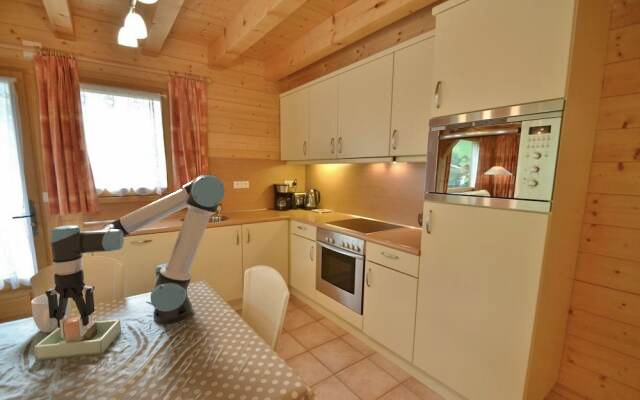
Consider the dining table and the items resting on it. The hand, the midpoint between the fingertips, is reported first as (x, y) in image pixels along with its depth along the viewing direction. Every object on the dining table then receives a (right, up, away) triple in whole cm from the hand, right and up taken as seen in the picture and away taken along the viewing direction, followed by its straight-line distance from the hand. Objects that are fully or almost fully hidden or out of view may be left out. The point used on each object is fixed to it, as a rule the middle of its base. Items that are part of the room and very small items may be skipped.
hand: (74, 334), depth 99 cm
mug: (-20, -4, +13) cm, 24 cm away
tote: (0, -5, +4) cm, 7 cm away
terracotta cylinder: (0, -2, 0) cm, 2 cm away
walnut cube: (-1, -4, +6) cm, 8 cm away
